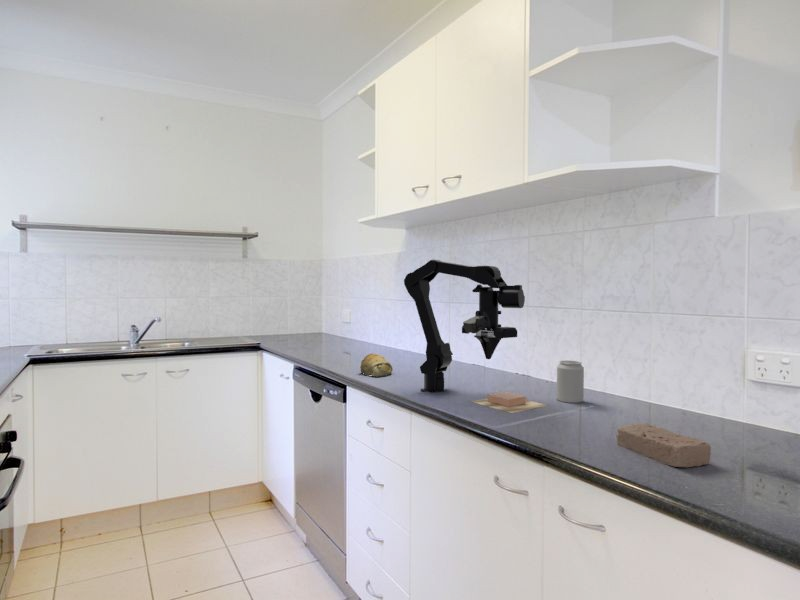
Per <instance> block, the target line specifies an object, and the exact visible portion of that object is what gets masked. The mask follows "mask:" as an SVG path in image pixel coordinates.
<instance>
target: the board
mask: <svg viewBox="0 0 800 600" xmlns="http://www.w3.org/2000/svg"><path fill="white" fill-rule="evenodd" d="M470 403H474V404H477V405H480V406H484V407H487V408H491V409H495V410H499V411H501V412H505V413H510V414H514V413H519V412H523V411H529V410H535V409H540V408H544V407H549V406H550V405H548V404H544V403H541V402H540V403H539V402H538V401H537V402H536V401H532V400H529V399H526V404H522V405H517V406H511V407H506V406H503V405H499V404H495V403H492V402H489V401H488V397H487V398H482V399H477V400H472V401H470Z"/></svg>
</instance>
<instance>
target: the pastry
mask: <svg viewBox="0 0 800 600" xmlns="http://www.w3.org/2000/svg"><path fill="white" fill-rule="evenodd" d="M392 371H393V366H392V364H391V363H390V361H388V360H386V358H385V357H384V356H382V355H380V354H375V353H370V354H367V355H366V356H365V357H364V358H363V359H362V360H361V362H360V373H361V374H362V373H364V374H366V375H365V376H367V375H372V376H376V377H375V378H377V377H383V376H384V377H385V376H388V375H392ZM364 374H363V375H364ZM372 376H371V377H372Z"/></svg>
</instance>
